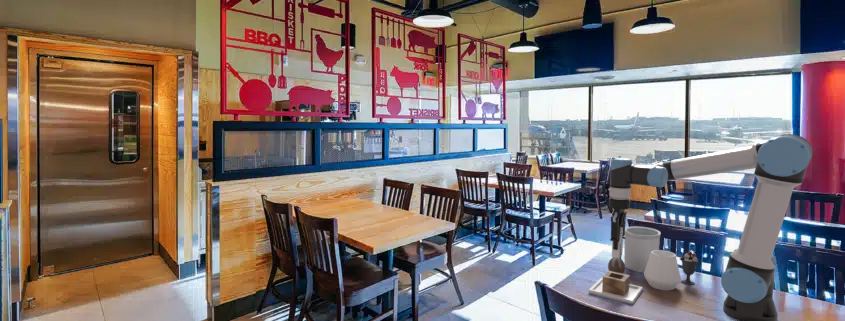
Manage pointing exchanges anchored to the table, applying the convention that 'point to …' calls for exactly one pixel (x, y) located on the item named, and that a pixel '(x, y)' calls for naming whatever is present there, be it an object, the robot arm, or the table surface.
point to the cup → (662, 270)
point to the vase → (614, 269)
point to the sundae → (688, 266)
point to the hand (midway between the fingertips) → (617, 255)
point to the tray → (628, 298)
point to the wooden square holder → (616, 283)
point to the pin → (617, 261)
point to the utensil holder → (640, 246)
